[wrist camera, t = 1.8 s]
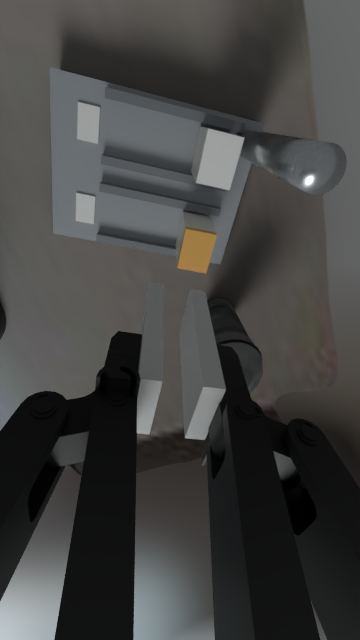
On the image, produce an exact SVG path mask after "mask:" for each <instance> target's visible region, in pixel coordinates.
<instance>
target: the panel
mask: <svg viewBox="0 0 360 640" xmlns="http://www.w3.org/2000/svg"><path fill="white" fill-rule="evenodd" d="M50 107H51V152H52V196H53V233H54V234H60V235H65V236H70V237H76V238H81V239H87V240H92V241H97V242H103V243H108V244H113V245H119V246H124V247H129V248H135V249H140V250H145V251H151V252H156V253H161V254H167V255H172V256H176V240H177V235H178V230H179V225H180V221H181V216H182V211H183V210H185V211H190V212H195V213H199V214H204V215H209V217H210V220H211V222H212V224H213V227H214V229H215V231H216V234H217V237H216V241H215V244H214V248H213V251H212V255H211V258H210V263H215V264H221V261H222V258H223V255H224V251H225V248H226V245H227V242H228V238H229V235H230V232H231V228H232V225H233V222H234V219H235V215H236V212H237V209H238V206H239V202H240V199H241V196H242V193H243V189H244V186H245V183H246V179H247V176H248V173H249V170H250V166H251V162H249V161H247V160H245V159H244V158H242V157H240V156H239V159H238V163H237V166H236V170H235V173H234V177H233V180H232V184H231V188H230V190H225V189H221V188H217V187H212V186H208V185H203V184H199V183H196V182H195V179H194V177H193V175H192V172H191V168H192V163H193V159H194V154H195V149H196V144H197V139H198V135H199V130H200V126H201V127H205V128H209V129H213V130H217V131H221V132H225V133H229V134H233V135H237V134H238V133H239V132H240V133H242V132H243V130H253V131H260V132H261V130H262V127H263V124H264V123H260V122H257V121H253V120H249V119H245V118H241V117H238V116H234V115H230V114H226V113H222V112H219V111H215V110H211V109H207V108H203V107H200V106H196V105H192V104H188V103H184V102H181V101H177V100H173V99H169V98H165V97H162V96H158V95H154V94H150V93H146V92H143V91H139V90H135V89H131V88H128V87H124V86H120V85H116V84H112V83H109V82H105V81H101V80H97V79H93V78H90V77H86V76H82V75H78V74H74V73H71V72H67V71H63V70H59V69H55V68H52V67H50Z"/></svg>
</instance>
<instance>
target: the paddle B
mask: <svg viewBox="0 0 360 640" xmlns="http://www.w3.org/2000/svg"><path fill="white" fill-rule="evenodd" d="M243 142H244V137H240V136H237V135H233V134H229V133H225V132H221V131H217V130H213V129H209V128H205V127H201V126H200V130H199V135H198V139H197V144H196V149H195V154H194V159H193V163H192V168H191V172H192V175H193V177H194V179H195V182H196V183H199V184H203V185H208V186H212V187H217V188H221V189H225V190H230V188H231V184H232V180H233V177H234V173H235V170H236V166H237V163H238V159H239V156H240V152H241V149H242V145H243Z"/></svg>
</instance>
